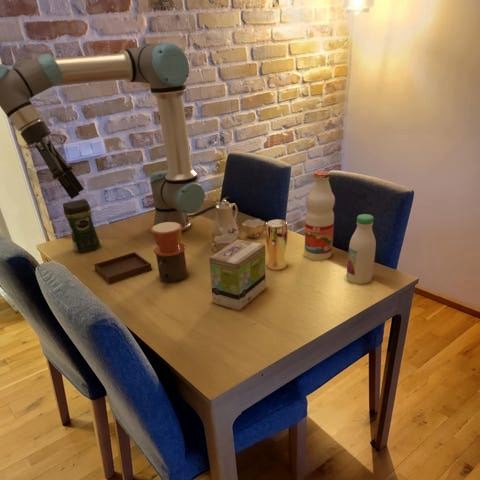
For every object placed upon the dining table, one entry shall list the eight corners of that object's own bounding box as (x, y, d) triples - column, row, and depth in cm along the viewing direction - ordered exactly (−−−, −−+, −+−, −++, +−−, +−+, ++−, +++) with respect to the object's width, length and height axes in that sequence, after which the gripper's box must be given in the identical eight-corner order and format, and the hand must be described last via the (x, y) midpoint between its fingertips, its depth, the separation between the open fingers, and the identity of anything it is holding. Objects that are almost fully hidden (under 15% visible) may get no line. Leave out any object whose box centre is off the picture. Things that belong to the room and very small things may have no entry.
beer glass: (290, 263, 147) (290, 220, 139) (283, 271, 142) (283, 228, 133) (271, 260, 149) (270, 218, 141) (263, 268, 144) (262, 225, 136)
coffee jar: (97, 242, 173) (85, 195, 162) (102, 248, 167) (91, 200, 157) (72, 248, 169) (59, 201, 159) (77, 255, 163) (63, 206, 153)
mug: (168, 269, 148) (163, 243, 143) (191, 271, 146) (188, 245, 140) (149, 286, 139) (144, 259, 133) (175, 289, 136) (170, 261, 131)
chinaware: (230, 264, 152) (231, 219, 142) (192, 251, 159) (191, 207, 149) (269, 235, 172) (272, 194, 162) (233, 225, 179) (234, 185, 169)
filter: (176, 245, 145) (172, 218, 140) (191, 254, 138) (188, 227, 133) (149, 253, 140) (144, 226, 135) (163, 263, 133) (158, 235, 128)
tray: (135, 257, 158) (134, 251, 156) (152, 269, 148) (150, 263, 147) (95, 270, 151) (93, 264, 149) (109, 284, 141) (108, 277, 140)
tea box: (241, 311, 123) (237, 263, 115) (212, 303, 127) (207, 257, 119) (267, 288, 133) (265, 243, 125) (239, 281, 138) (236, 237, 130)
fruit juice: (335, 251, 152) (340, 169, 137) (327, 262, 145) (332, 177, 130) (309, 247, 156) (312, 167, 141) (300, 258, 149) (302, 175, 134)
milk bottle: (372, 274, 137) (380, 212, 126) (370, 285, 131) (378, 222, 120) (347, 271, 139) (353, 211, 128) (344, 283, 133) (349, 220, 122)
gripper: (28, 133, 134) (72, 195, 143) (8, 132, 111) (61, 206, 121) (49, 120, 134) (91, 183, 143) (33, 117, 111) (85, 192, 121)
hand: (78, 194), depth 132 cm, fingers open, 13 cm apart
